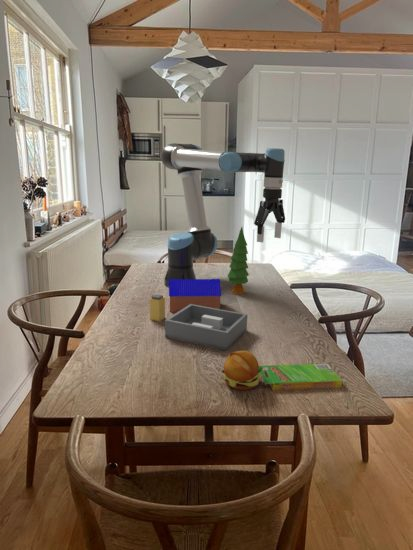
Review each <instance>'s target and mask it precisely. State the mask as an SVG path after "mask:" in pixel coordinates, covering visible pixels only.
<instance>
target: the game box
mask: <svg viewBox="0 0 413 550" xmlns="http://www.w3.org/2000/svg"><path fill="white" fill-rule="evenodd" d="M259 366H260V367H262V368H263V369H262V370H261V376H262V378H263V381H264V383H265V384H267V385H269V386H270V387H271V390H273V391H280V390H282V389H283V390H304V389H306V388H308V389H329V388H331V389H332V388H342V385H343V380H342V379H341V377H340V376H339V375H338V373H336V372H335V370H334V369H332V367H331V366H330V365H329V363H312V364H311V363H309V364H282V365H281V364H280V365H279V364H277V365H276V364H275V365H259ZM283 390H282V391H283Z"/></svg>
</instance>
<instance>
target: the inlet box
mask: <svg viewBox="0 0 413 550" xmlns="http://www.w3.org/2000/svg"><path fill="white" fill-rule="evenodd" d="M247 328H248V314H247V313H242V312H237V311H233V310H232V311H231V310H227V309H226V310H225V309H221V308H220V309H215V308H210V307H204V306H199V305H193V304H190V305H188V306H187V307H185V308H183V309H182V310H180V311H179V312H175V313H174V314H172V315H171V316H169V317H168V318H165V320H164V337H165V338H168V339H171V340H176V341H180V342H184V343H185V342H186V343H190V344H194V345H198V346H203V347H208V348H212V349H217V350H222V351H229V350H230V349H231V347H232V346H233V345H234V344H235V343H236V342H237V341H238V340H239V339H240V338H241V337H242V336H243V335H244V334H245V333H246V332H247V331H248V329H247Z"/></svg>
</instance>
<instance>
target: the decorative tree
mask: <svg viewBox="0 0 413 550" xmlns="http://www.w3.org/2000/svg"><path fill="white" fill-rule="evenodd" d="M247 247H248V243H247V240H246V238H245V235H244V229H243V226H241V228H240V230H239V232H238V236H237V239H236V241H235V243H234V247H233V249H232V250H233V253H232V255H231V257H230V260H231V262H230V264H229V269H230V270H229V272H228V274H227V281H228V283H230V284H234V286H233V288H232V289H231V293H230V294H232V295H233V294H234V295H243V294H245V293H246V291H245V289H244V286H243V285H245V284H247V283H248V282H249V280H248V276H249V275H250V274H249V272H248V270H247V269H249V266H248V265H249V264H248V263H247V261H248V257H247V255H248V254H249V253H248V252H249V251H248V248H247Z"/></svg>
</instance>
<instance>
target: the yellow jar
mask: <svg viewBox="0 0 413 550" xmlns="http://www.w3.org/2000/svg"><path fill="white" fill-rule="evenodd" d="M164 319H166V297H164V295H162V294H154V295H152V296H151V297H150V298H149V320H150V321H154V322H155V321H157V322H161V321H162V320H164Z"/></svg>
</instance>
